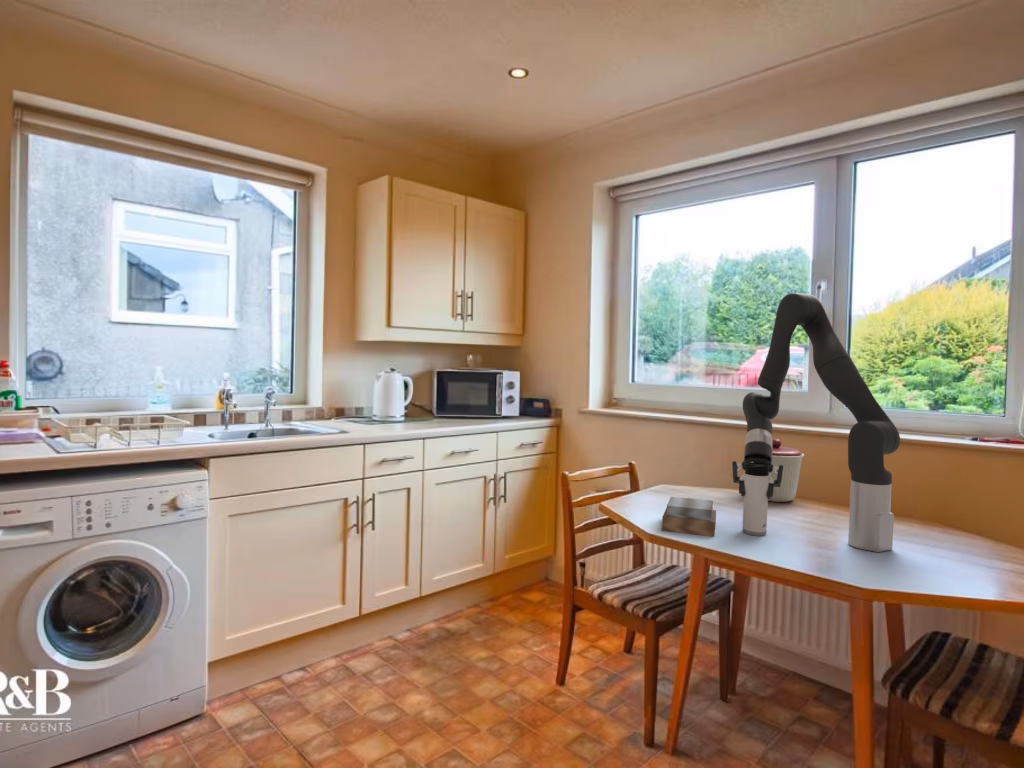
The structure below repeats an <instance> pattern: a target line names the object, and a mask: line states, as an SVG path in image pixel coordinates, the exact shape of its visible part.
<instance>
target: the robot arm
mask: <svg viewBox="0 0 1024 768" xmlns="http://www.w3.org/2000/svg"><path fill="white" fill-rule="evenodd" d="M774 320H775V321H774V325H773V330H772V334H771V340H770V345H769V348H768V352H767V355H766V359H765V361H764V364H763V366H762V369H761V370H760V373H759V376H758V380H757V384H758V385H759V387H761V388H762V389H764V390H766V391H768V392H769V393H770V394H769V395H765V394H762V393H759V392H749V393H747V394H746V395H745V396H744V398H743V400H742V410H743V414H744V417H745V422H746V425H747V426H746V437H745V439H744V440H745V443H744V452H743V453H744V454H743V460H742V461H741V462H737V461H736V460H733V461H732V463H731V464H732V466H731V467H732V482H733V483H734V484H738V493H739V494H740V495H741V497H744V480H745V466H746V464H747V463H753V462H764V463H765V462H769V463H770V465H769V472H768V473H769V477H768V478H769V484H768V499H770V497H773V490H774V487H780V486H781V481H782V476H783V465H779V467H778V466H773V464H772V449H773V447H772V440H773V423H772V419H773V420H774V418H776V416H777V415H778V414H779V411H780V402H781V401H780V400H781V393H782V388H783V385H784V381H785V380H786V377H787V374H788V372H789V369H790V365H791V364H790V363H791V352H790V351H791V350H790V349H791V340H792V337H793V335H794V332H795V330H796V328H797V326H800V327H801V328H802V329H803V330H804V332H805V334H806V336H807V337H808V339H809V340H810V343H811V344H812V361H813V367H814V368H815V370H816V373H817V375H818V377H819V378H820V381H821V382H822V383H823V385H824V387H825V388H826V390H827V391H829V393H831V394H832V395H833V397H835V398H836V399H837V400H838V402H840V403H842V405H844V406H845V407H846V408H847V410H849V412H850V413H851V414H852V415H853V417H854V419H855V420H856V421H857V422H856V423H855V424H854V425H852V426H851V428H850V430H849V433H848V438H847V464H848V465H847V467H848V470H849V472H850V489H849V490H850V493H849V511H848V513H849V514H848V516H849V517H848V538H847V543H848V545H850V546H851V547H854V548H857V549H861V550H865V551H869V552H870V551H871V552H874V553H875V552H876V553H882V552H886V551H891V550H893V545H894V544H893V539H894V523H895V513H893V512H892V511H891V507H892V506H891V503H892V502H891V501H892V486H893V485H892V484H893V474H892V473H891V471H889V470H887V469H886V467H885V464H884V463H885V462H884V461H885V460H884V459H885V458H884V456H885V455H886V456H887V455H890V454H893V453H895V452H896V451H897V450H898V448H899V447H900V444H901V436H900V432H899V431H898V428H897V427H896V426H895V424H894V423H893V421H892V420H891V419H890V417H889V416H888V414H887V413H886V412H885V411H884V409H883V408H882V407H881V406H880V404H879V402H878V401H877V400H876V398H875V396H874V394H873V393H872V392H871V390H870V388H869V387H868V385H867V383H866V381H865V380H864V379H863V377H862V375H861V373H860V371H859V369H858V368H857V365H856V364H855V362H854V361H853V359H852V358H851V356H850V354H849V353H848V352H847V350H846V348H845V346H844V345H843V343H842V342H841V339H840V338H839V336H838V335H837V333H836V331H835V330H834V327H833V326H832V324H831V322H830V320H829V317H828V314H827V313H826V310H825V308H824V306H823V304H822V302H821V301H820V299H819V298H818V297H816V296H814V294H810V293H809V294H808V293H799V292H790V293H787V294H786V295H784V296H783V297H782V298H781V300H780V302H779V304H778V307H777V310H776V316H775V319H774ZM741 468H742V470H743V472H742V475H741V476H738V472H739V471H740V469H741ZM773 470H774V471H775V473H776V474H777V479H776V480H773V479H772V477H771V475H770V473H771V472H772V471H773Z"/></svg>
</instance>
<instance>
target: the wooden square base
mask: <svg viewBox="0 0 1024 768" xmlns="http://www.w3.org/2000/svg"><path fill="white" fill-rule="evenodd" d="M713 505H714V500H712V499H711V500H710V499H702V498H690V497H689V498H688V497H680V496H670V498H669V500H668V502H667V504H666V508H665V510H664V512H663V514H662V521H661V523H662V524H661V527H662V528H661V531H662V532H663V531H664V532H670V533H678V534H690V535H698V536H707V537H715V534H716V533H715V532H716V524H717V509H714V508H713V507H714V506H713Z"/></svg>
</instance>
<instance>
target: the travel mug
mask: <svg viewBox="0 0 1024 768" xmlns="http://www.w3.org/2000/svg"><path fill="white" fill-rule="evenodd" d="M769 465H770V463H769V462H765V463H764V462H753V463H747V464H746V466H745V480H744V496H743V505H742V506H743V508H742V509H743V512H742V533H744V534H747V535H749V536H755V537H763V536H765V535H766V534H767V528H768V527H767V526H768V505H769V504H768V503H769V501H768V484H769V478H768V477H769V473H768V472H769Z"/></svg>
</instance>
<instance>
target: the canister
mask: <svg viewBox="0 0 1024 768" xmlns="http://www.w3.org/2000/svg"><path fill="white" fill-rule="evenodd" d="M772 447H773V449H772V464H773V466H778V467H779V465H783V476H782V481H781V486H780V487H774V490H773V497H770V499H768V502H775V503H787V502H791V501H793V500H794V498H795V497H796V495H797V489H798V484H799V480H800V479H799V478H800V473H801V467H802V460H803V458H804V457H805V454H804V453H803V452H801V451H800V450H798V449H797V448H792V447H788V446H782V441H781V440H780V439H778V438H772ZM770 475H771V477H772V479H773V480H776V479H777V474H776V473H775V471H774V470H773V471H772V472H771V473H770Z"/></svg>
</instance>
